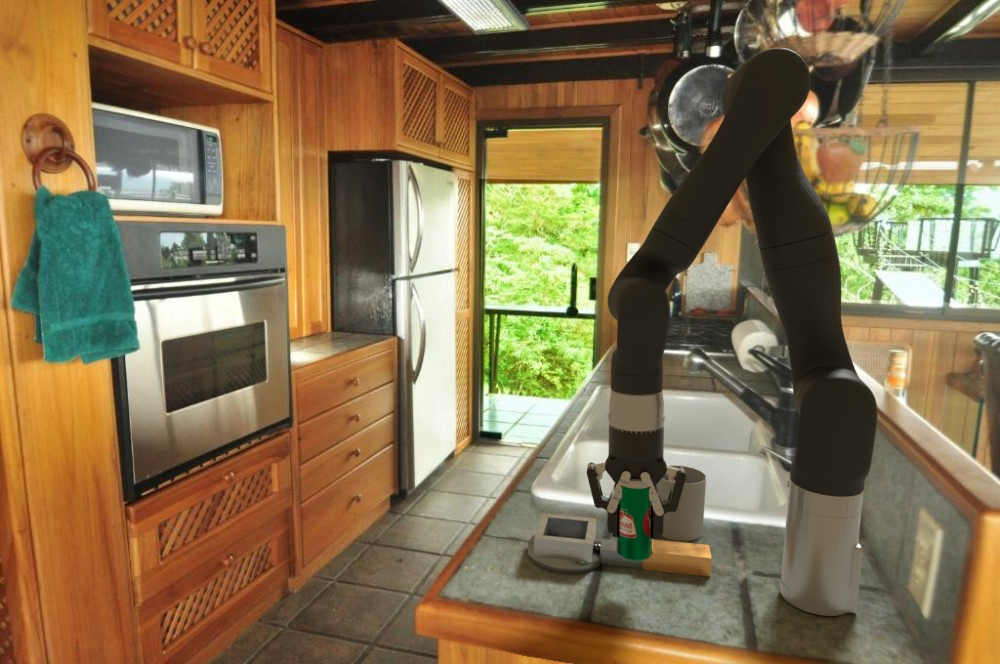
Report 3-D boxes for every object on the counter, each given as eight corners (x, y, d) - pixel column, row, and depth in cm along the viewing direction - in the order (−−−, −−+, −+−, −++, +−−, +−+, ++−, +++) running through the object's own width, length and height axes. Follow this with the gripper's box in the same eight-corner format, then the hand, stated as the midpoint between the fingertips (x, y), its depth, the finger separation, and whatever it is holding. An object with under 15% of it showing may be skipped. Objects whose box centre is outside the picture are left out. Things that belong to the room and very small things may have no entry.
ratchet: (705, 550, 110) (707, 524, 109) (713, 590, 98) (715, 561, 98) (534, 533, 116) (534, 508, 115) (522, 569, 104) (522, 541, 103)
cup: (701, 544, 112) (705, 486, 111) (650, 536, 115) (653, 480, 113) (703, 522, 120) (707, 468, 119) (656, 515, 123) (658, 462, 121)
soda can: (609, 551, 99) (610, 472, 97) (638, 543, 101) (639, 466, 99) (630, 566, 94) (631, 484, 92) (660, 558, 96) (661, 478, 94)
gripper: (687, 414, 96) (684, 527, 99) (585, 411, 99) (585, 521, 102) (692, 431, 89) (689, 552, 92) (582, 427, 92) (582, 545, 95)
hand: (634, 535), depth 97 cm, fingers closed on soda can, 5 cm apart
